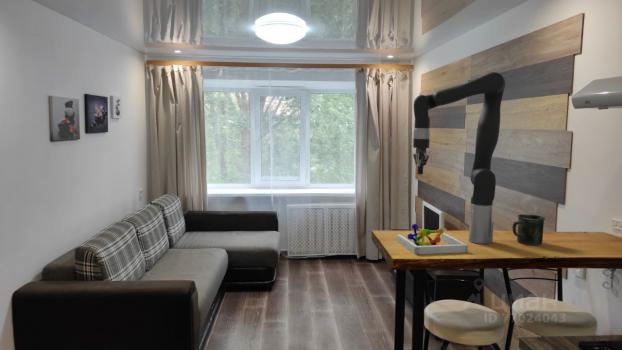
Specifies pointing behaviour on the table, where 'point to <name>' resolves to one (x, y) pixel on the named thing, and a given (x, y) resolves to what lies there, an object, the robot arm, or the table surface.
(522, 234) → the mug
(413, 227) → the decorative model
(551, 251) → the table surface
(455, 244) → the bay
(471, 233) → the robot arm
